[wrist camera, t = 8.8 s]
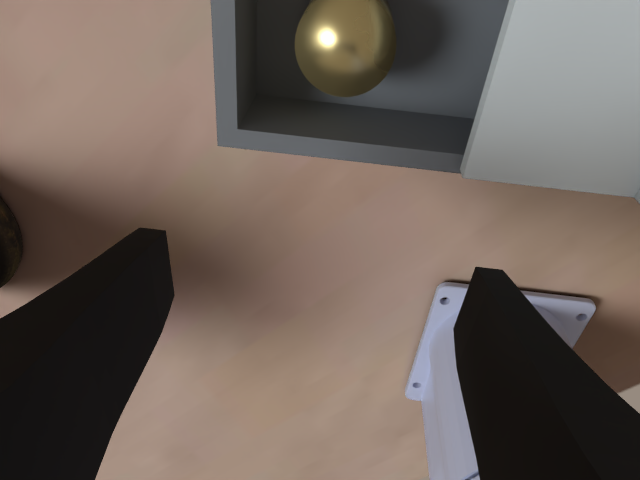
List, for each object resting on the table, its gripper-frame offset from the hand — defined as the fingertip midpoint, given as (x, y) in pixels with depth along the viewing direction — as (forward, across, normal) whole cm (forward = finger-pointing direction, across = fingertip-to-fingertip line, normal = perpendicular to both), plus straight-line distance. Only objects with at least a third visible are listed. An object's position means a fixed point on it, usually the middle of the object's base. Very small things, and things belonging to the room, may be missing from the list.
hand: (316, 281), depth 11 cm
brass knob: (+10, 0, -4) cm, 10 cm away
